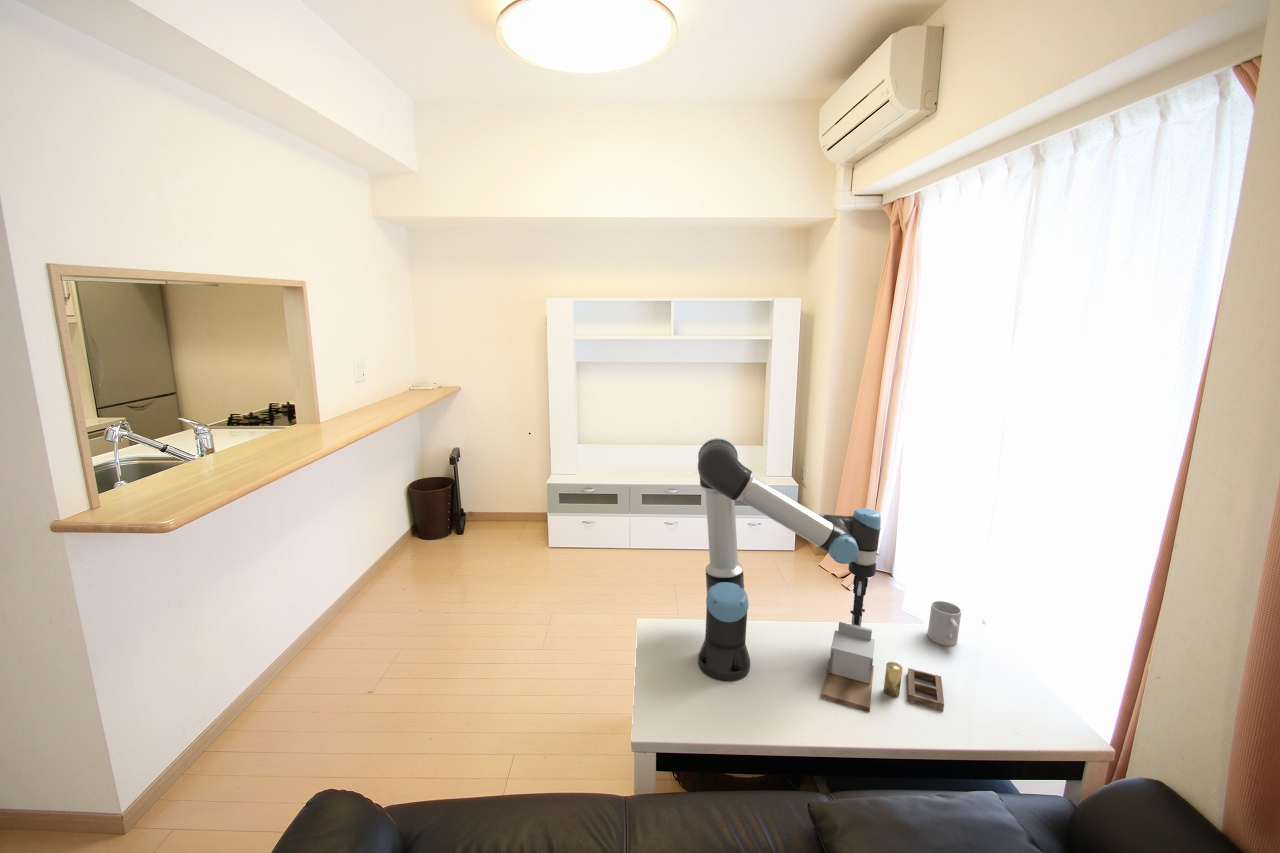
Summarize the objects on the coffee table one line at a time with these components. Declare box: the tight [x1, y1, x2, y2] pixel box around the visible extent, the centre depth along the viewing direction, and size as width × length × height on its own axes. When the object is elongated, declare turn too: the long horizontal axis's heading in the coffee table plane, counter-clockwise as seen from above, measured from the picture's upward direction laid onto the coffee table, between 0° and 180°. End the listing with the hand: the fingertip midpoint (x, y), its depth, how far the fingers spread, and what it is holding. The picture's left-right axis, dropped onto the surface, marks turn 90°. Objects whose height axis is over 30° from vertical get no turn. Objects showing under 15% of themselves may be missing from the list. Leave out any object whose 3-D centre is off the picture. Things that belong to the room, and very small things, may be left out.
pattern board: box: [821, 660, 875, 713], centre depth 154 cm, size 12×20×5 cm, turn 155°
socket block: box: [907, 667, 945, 712], centre depth 151 cm, size 8×13×2 cm, turn 155°
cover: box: [828, 621, 876, 684], centre depth 158 cm, size 11×10×11 cm
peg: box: [882, 661, 904, 699], centre depth 150 cm, size 4×4×8 cm
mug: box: [927, 600, 962, 647], centre depth 175 cm, size 12×8×11 cm
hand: (855, 632), depth 169 cm, fingers closed
